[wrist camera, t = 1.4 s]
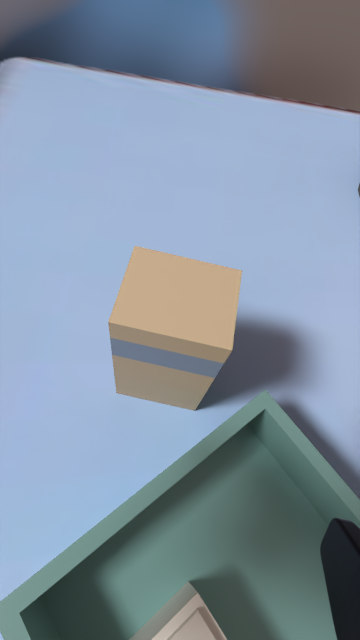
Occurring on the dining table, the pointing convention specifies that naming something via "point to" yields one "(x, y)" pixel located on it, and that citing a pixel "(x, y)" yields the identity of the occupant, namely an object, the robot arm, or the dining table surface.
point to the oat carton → (172, 327)
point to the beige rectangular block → (181, 620)
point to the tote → (203, 543)
